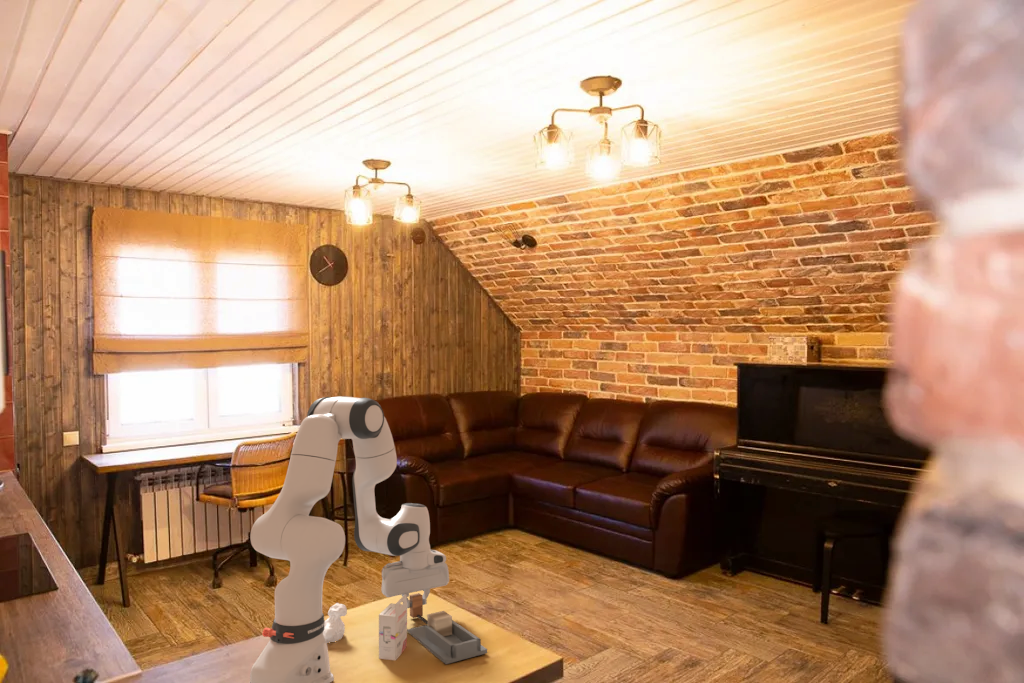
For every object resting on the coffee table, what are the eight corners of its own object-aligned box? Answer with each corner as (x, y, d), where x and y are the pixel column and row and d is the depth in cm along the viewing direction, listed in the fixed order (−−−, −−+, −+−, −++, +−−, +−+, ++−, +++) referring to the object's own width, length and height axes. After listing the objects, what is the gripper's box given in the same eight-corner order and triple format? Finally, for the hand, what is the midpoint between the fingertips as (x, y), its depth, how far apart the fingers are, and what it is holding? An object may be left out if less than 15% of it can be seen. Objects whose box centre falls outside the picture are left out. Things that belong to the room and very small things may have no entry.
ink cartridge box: (389, 646, 198) (390, 591, 198) (407, 648, 197) (408, 593, 197) (377, 659, 190) (378, 602, 190) (395, 662, 189) (396, 604, 189)
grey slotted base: (487, 652, 193) (486, 637, 193) (445, 664, 187) (445, 648, 187) (445, 623, 214) (445, 609, 214) (407, 633, 207) (406, 618, 207)
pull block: (452, 634, 202) (451, 612, 202) (435, 638, 200) (435, 616, 200) (422, 613, 219) (422, 592, 219) (406, 616, 216) (406, 595, 216)
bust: (328, 658, 197) (355, 625, 197) (306, 641, 196) (333, 607, 197) (336, 639, 209) (361, 608, 209) (314, 623, 208) (340, 591, 209)
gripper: (385, 567, 208) (386, 616, 208) (451, 555, 219) (451, 602, 219) (377, 561, 214) (378, 609, 214) (441, 550, 224) (442, 595, 224)
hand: (416, 605), depth 216 cm, fingers closed on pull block, 3 cm apart
